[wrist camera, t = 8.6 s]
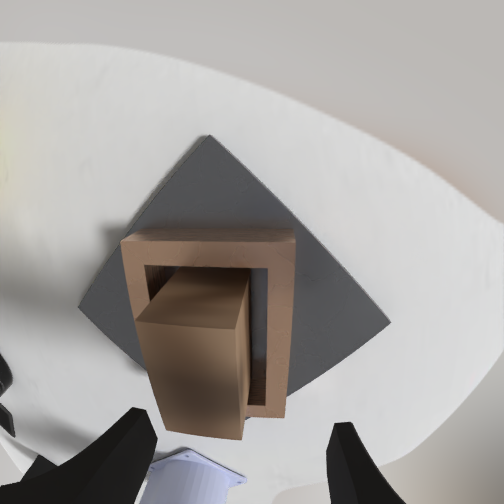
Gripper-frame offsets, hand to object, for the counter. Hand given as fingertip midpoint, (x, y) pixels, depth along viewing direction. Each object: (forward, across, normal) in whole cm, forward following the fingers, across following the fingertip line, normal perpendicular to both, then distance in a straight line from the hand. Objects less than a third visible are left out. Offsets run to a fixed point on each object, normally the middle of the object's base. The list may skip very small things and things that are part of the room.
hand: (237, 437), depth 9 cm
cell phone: (+9, +47, +27) cm, 55 cm away
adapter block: (+8, +2, 0) cm, 8 cm away
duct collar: (+9, +2, 0) cm, 9 cm away
